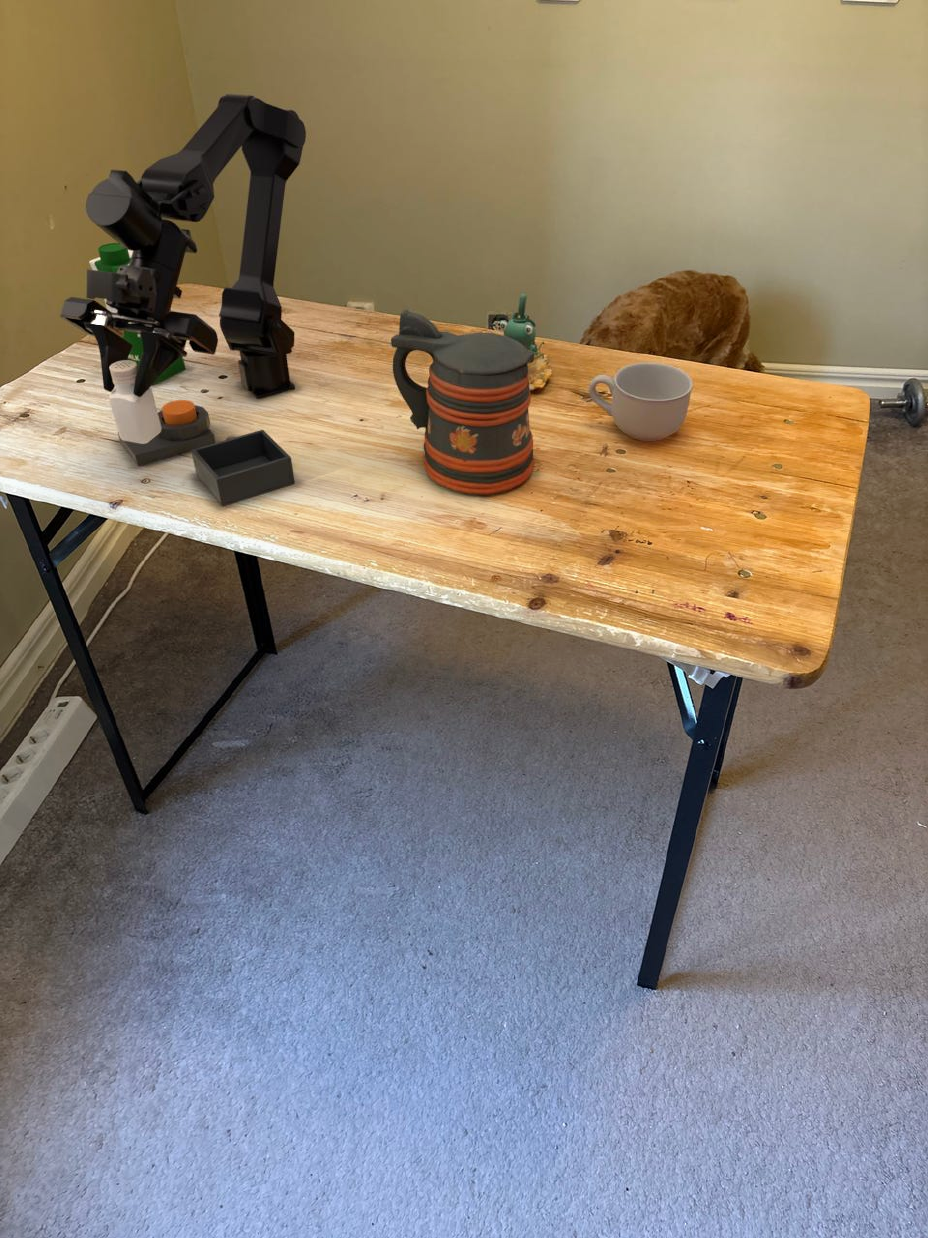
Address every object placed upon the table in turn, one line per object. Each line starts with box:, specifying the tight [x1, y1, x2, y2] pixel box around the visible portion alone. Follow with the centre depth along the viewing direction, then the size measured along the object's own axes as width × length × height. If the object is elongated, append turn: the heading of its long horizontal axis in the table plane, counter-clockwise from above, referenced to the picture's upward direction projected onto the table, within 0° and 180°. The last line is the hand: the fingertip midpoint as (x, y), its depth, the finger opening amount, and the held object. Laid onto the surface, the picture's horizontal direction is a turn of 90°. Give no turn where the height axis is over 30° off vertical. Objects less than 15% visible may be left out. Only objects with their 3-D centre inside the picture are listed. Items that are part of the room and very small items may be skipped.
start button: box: [161, 399, 197, 425], centre depth 125 cm, size 4×4×2 cm
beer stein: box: [390, 309, 535, 496], centre depth 115 cm, size 19×15×20 cm
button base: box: [117, 404, 216, 467], centre depth 126 cm, size 12×8×4 cm
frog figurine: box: [496, 292, 553, 392], centre depth 137 cm, size 10×18×15 cm, turn 145°
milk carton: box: [89, 242, 187, 386], centre depth 138 cm, size 9×9×20 cm
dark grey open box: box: [190, 429, 296, 508], centre depth 118 cm, size 10×9×4 cm
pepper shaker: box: [108, 360, 161, 444], centre depth 111 cm, size 4×4×10 cm
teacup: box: [588, 361, 694, 442], centre depth 126 cm, size 14×11×8 cm
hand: (122, 393), depth 109 cm, fingers closed on pepper shaker, 4 cm apart
